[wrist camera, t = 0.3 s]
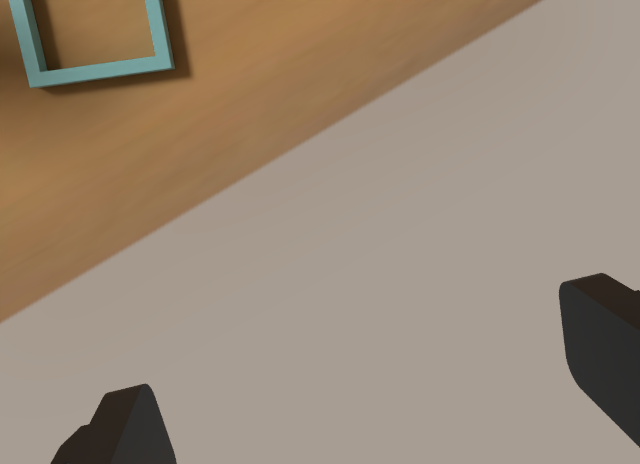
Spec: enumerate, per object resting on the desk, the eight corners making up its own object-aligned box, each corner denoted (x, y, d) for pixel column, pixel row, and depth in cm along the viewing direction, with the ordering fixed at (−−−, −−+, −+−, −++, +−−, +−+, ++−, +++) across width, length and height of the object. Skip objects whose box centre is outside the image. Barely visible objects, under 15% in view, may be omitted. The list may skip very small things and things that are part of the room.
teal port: (3, -61, 34) (-8, -67, 33) (147, -80, 34) (142, -87, 33) (38, 88, 36) (29, 87, 35) (175, 69, 36) (171, 67, 35)
